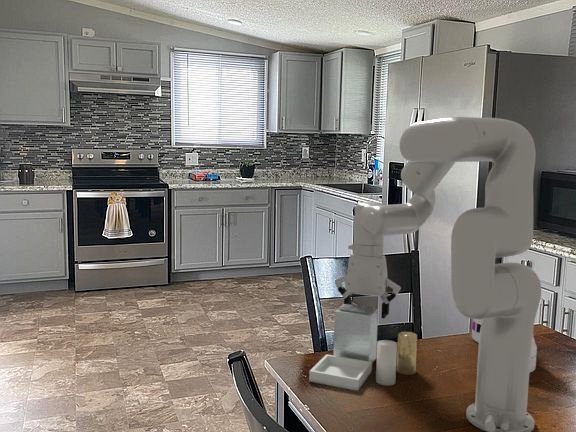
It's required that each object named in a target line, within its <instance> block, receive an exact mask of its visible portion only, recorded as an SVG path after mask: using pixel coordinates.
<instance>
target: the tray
mask: <svg viewBox="0 0 576 432" xmlns="http://www.w3.org/2000/svg"><path fill="white" fill-rule="evenodd" d="M372 369H373V363H372V362H369V361H363V360H357V359H351V358H345V357H340V356H334V355H332V354H327V353H326V354H325V355H324V356H323V357H321V359H320V360H319V361H318V362H317V363H316V364H315V365H314V366H313V367H312V368H311V369H310V370H309V373H308V374H309V375H308V377H309V378H308V380H309V381H308V382H309V383H315V384H320V385H324V386H325V385H326V386H330V387H335V388H340V389H347V390H351V391H357V392H358V391H359V390H360V389H361V388H362V386H363V385H364V383H365V382H366V381H367V379H368V378H369V376H370V375H371V373H372V372H373V371H372Z"/></svg>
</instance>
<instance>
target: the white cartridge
mask: <svg viewBox="0 0 576 432" xmlns="http://www.w3.org/2000/svg"><path fill="white" fill-rule="evenodd" d="M397 352H398V342H396V341H394V340H389V339H382V340H377V349H376V370H375V382H376V383H378V385H381V386H394V385H395V384H396V379H397V378H396V377H397Z"/></svg>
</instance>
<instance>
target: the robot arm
mask: <svg viewBox="0 0 576 432" xmlns="http://www.w3.org/2000/svg"><path fill="white" fill-rule="evenodd" d="M534 141H535V140H534V139H533V136H532V135H531V133H530V132H529V130H528V129H527V128H525V126H523V125H522V124H520V123H518V122H516V121H513V120H510V119H505V118H498V117H472V116H471V117H470V116H451V117H444V118H436V119H430V120H423V121H416V122H414V123H411V124H410V125H408V126H407V127H406V128H405V129H404V131H403V132H402V134H401V137H400V139H399V151H400V154H401V155H402V158H404V160H406V161H407V162H406V163H405V165H404V166H403V168H402V169H401V172H400V179H401V181H402V183H403V184H404V186H405V187H406V189H408V190H409V191H410V192H412V194H413V195H412V197H410V199H409V200H408V201H407V202H406V203H398V204H397V203H396V204H382V203H380V202H376V201H374V202H373V201H362V202H358V203H357V204H355V207H354V226H353V227H354V228H353V229H354V230H353V232H354V233H353V242H352V243H349V244H348V247H347V248H348V250H351V251H352V253H351V254H350V255H349V258H348V264H347V271H346V275H343V276H341V277H338V278H337V279H335V280H334V284H335V286H336V288H337V292H339V293H340V295H342V298H343V304H350V305H353V304H352V303H353V302H352V300H353V299H352V298H353V297H352V295H351V294H355V295H363V296H370V297H371V296H372V297H380V299H381V300H382V301H383V302H382V303H381V313H380V314H381V319H386V317H387V316H388V315H389V314H390V302H391V301H393V300H394V299H395V298H396V297H397V296H398V294H399V292H400V291H401V290H402V289H401V286H400V285H398V284H397V283H395V282H394V281H392V280H391V279H389V278H388V266H387V258H386V256H385V255H384V238H385V237H387V236H388V237H389V236H399V235H409V234H413V233H415V232H417V231H418V230H419V229H421V227H423V225H424V224H425V223H426V222H427V220H429V218H430V216H431V215H432V214H433V212H434V209H435V206H436V205H435V203H436V191H435V190H436V189H437V187H438V185H439V184H440V183H441V181H442V180H443V179H444V178H445V176H446V175H447V174H448V172H449V171H450V170H451V169H452V168H453V166H454V165H455V164H456V163H457V162H458V163H461V162H464V163H467V162H469V163H470V162H471V163H472V162H477V163H478V162H479V163H480V162H491V163H493V166H491V169H490V171H489V172H488V174H487V178H486V179H485V180H486V181H485V187H484V190H485V191H484V193H485V196H484V207H475V208H471V209H468V210H465V211H464V212H463V213H461V214H460V215H459V216H458V217H457V219H456V220H455V222H454V224H453V225H454V226H453V228H452V231H451V236H450V237H451V240H450V241H451V242H450V243H451V244H450V252H451V253H450V257H451V258H450V260H451V262H450V263H451V264H450V266H451V267H450V269H451V272H450V273H451V274H450V275H451V276H450V277H451V281H450V283H451V285H450V286H451V294H452V299H453V302H454V305H455V307H456V309H457V310H458V311H459V312H460V314H461V315H463V316H464V317H466V318H468V319H472V320H473V319H483V321H482V324H481V328H480V335H479V343H478V348H477V349H478V351H477V352H478V354H477V365H476V383H475V399H474V402H473V403H472V404H469V405H468V407H467V408H466V411H465V413H466V415H465V416H466V419H467V420H468V422H469V423H470V424H472V425H473V426H474V427H476V428H477V429H479V430H481V431H484V432H533V431H534V428H535V418H533V416H532V415H531V414H530V413H529V412H528V409H527V408H528V396H529V385H530V373H531V372H530V359H531V348H532V336H533V337H534V327H535V321H536V317H537V313H538V309H539V305H540V304H541V303H540V302H541V298H542V285H541V281H540V278H539V276H538V274H537V273H536V272H535V270H533V269H532V268H531V267H530V266H528V265H525V264H523V263H519V262H501V263H496V259H497V258H507V257H508V258H509V257H514V256H518V255H522V254H524V253H525V252H527V251H528V250H529V249H530V248H531V246H532V244H533V238H534V176H535V175H534V174H535V166H536V156H537V155H536V147H535V146H536V145H535V142H534ZM344 282H345V287H344V286H343V283H344ZM388 287H389V288H391V289H392V293H391V294H388V292H387V291H388Z"/></svg>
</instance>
